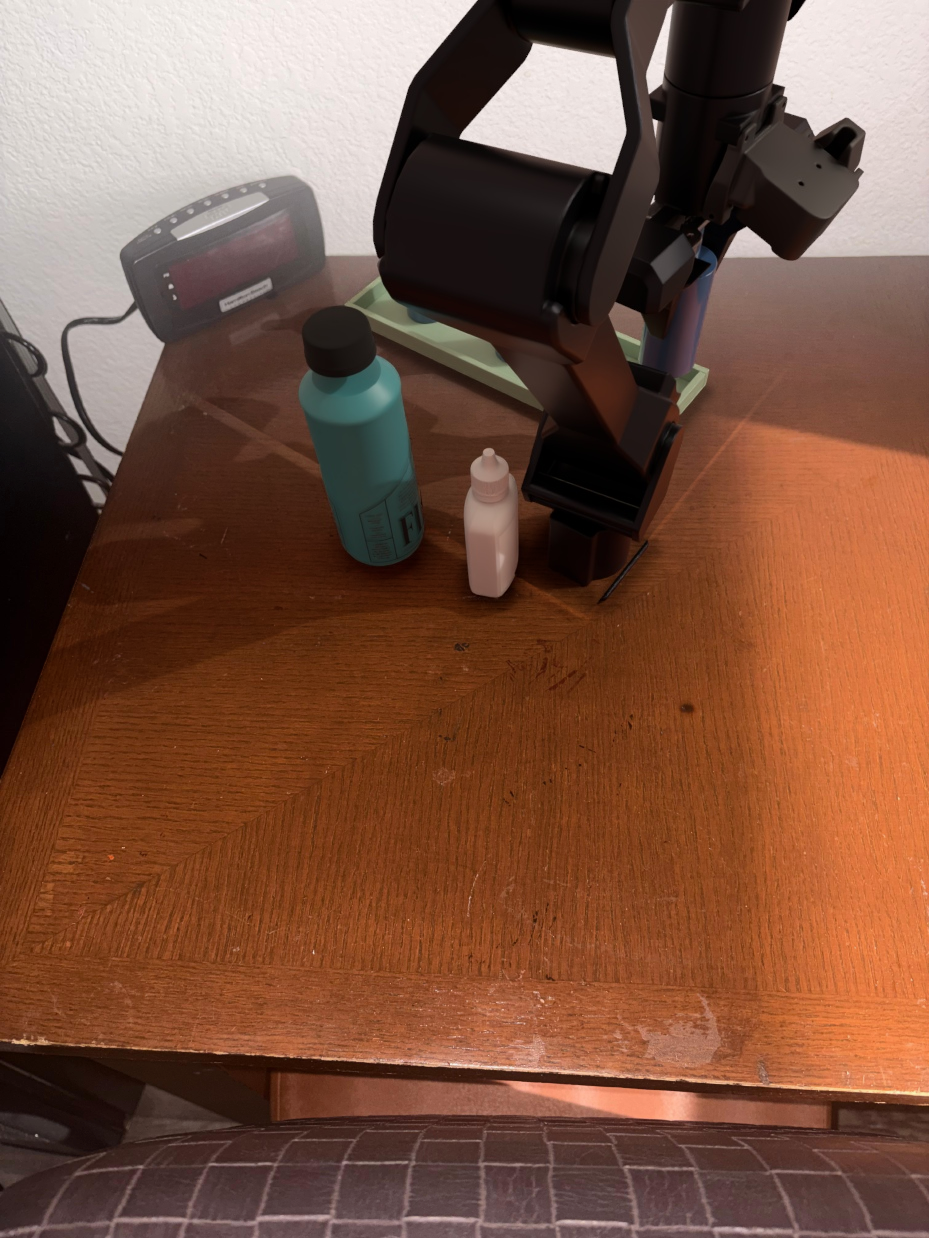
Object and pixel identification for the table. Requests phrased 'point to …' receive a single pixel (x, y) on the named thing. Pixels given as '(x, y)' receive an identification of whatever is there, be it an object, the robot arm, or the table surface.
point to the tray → (478, 347)
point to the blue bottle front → (682, 325)
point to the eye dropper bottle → (491, 525)
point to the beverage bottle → (360, 437)
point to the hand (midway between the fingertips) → (674, 319)
